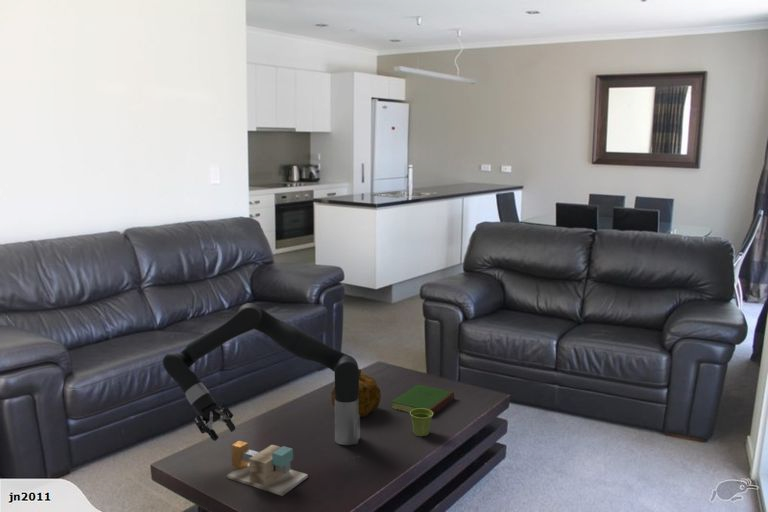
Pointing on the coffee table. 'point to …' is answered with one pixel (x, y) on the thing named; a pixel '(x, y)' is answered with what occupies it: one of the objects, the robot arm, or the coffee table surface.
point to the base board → (277, 486)
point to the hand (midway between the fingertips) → (225, 434)
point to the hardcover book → (423, 399)
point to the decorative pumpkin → (365, 394)
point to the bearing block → (263, 466)
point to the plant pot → (421, 421)
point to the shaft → (243, 454)
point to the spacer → (282, 456)
